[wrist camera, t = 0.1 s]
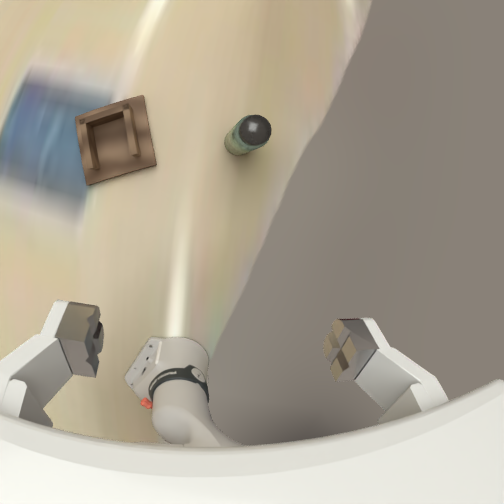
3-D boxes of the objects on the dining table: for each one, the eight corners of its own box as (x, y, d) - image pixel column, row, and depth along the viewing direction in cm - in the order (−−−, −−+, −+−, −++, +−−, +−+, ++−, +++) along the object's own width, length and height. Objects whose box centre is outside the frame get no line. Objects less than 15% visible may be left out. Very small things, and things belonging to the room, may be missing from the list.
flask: (237, 160, 59) (254, 154, 44) (218, 140, 57) (230, 127, 42) (257, 143, 59) (280, 132, 44) (239, 123, 57) (257, 105, 42)
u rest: (156, 164, 55) (153, 163, 49) (89, 185, 53) (78, 186, 47) (143, 96, 51) (139, 87, 45) (77, 118, 49) (66, 112, 43)
